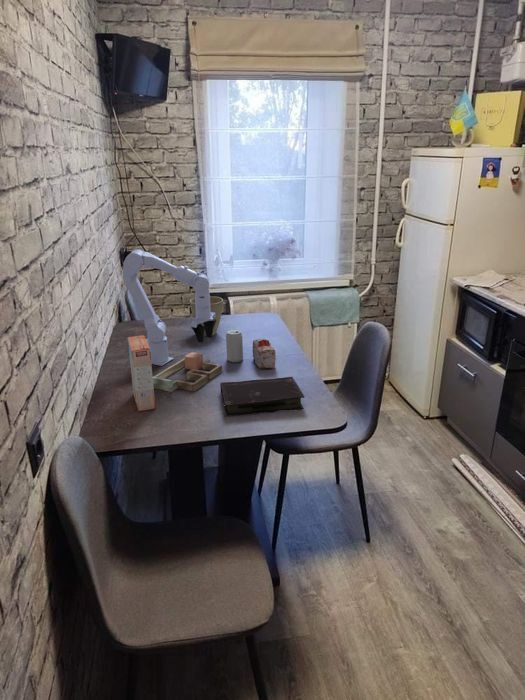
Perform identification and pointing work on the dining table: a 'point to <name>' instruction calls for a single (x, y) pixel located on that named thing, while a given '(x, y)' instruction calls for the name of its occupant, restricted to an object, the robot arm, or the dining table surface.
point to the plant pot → (215, 306)
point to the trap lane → (193, 375)
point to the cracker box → (141, 372)
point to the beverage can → (234, 345)
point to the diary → (261, 396)
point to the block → (193, 361)
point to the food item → (263, 354)
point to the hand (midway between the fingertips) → (204, 339)
